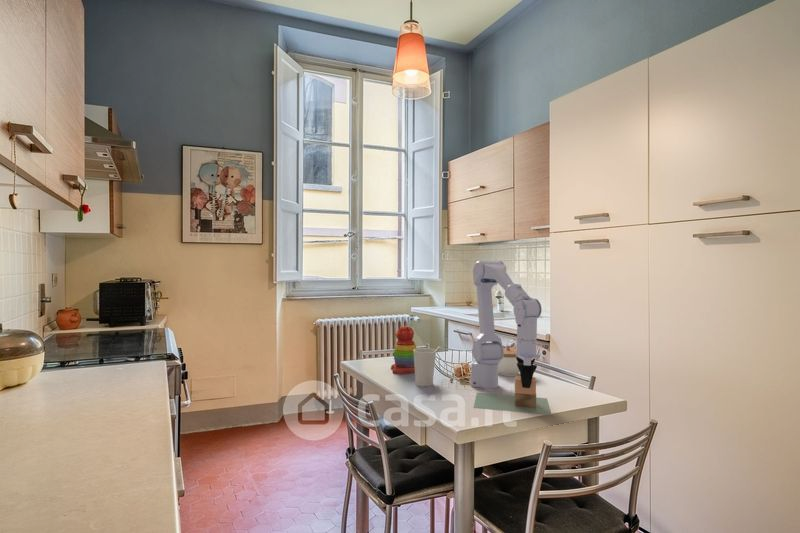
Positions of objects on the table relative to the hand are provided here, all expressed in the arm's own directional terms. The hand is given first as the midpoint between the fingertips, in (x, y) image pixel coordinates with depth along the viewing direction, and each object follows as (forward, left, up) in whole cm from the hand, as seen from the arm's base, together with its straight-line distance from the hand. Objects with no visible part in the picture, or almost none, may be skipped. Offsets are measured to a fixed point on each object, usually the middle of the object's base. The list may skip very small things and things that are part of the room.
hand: (525, 384), depth 137 cm
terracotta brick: (0, 0, -2) cm, 2 cm away
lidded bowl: (-5, +41, -7) cm, 42 cm away
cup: (-34, +17, -7) cm, 39 cm away
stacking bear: (-45, +34, -7) cm, 57 cm away
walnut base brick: (0, 0, -6) cm, 6 cm away
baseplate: (-4, +1, -7) cm, 8 cm away
